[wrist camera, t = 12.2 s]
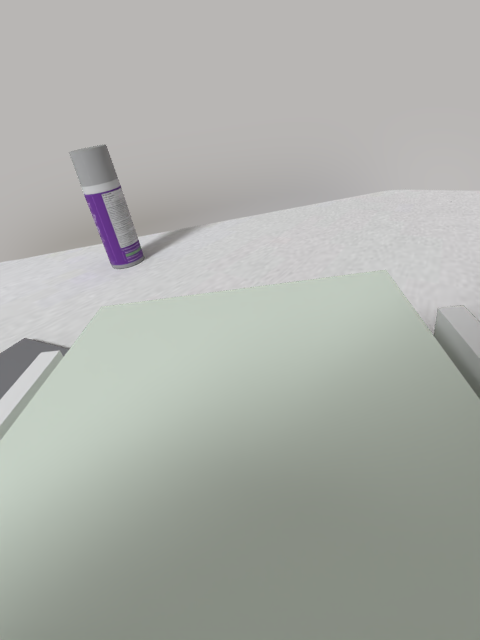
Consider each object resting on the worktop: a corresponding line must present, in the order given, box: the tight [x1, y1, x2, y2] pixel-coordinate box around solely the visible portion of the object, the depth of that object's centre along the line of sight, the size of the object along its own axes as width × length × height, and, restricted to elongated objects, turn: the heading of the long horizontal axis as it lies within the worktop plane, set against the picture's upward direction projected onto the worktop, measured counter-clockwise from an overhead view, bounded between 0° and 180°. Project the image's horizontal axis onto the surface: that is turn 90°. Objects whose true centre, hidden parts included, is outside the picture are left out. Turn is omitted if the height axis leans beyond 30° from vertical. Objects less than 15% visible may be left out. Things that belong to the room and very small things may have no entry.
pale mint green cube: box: [0, 270, 480, 640], centre depth 11 cm, size 11×11×10 cm
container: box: [69, 145, 144, 269], centre depth 47 cm, size 5×5×15 cm
